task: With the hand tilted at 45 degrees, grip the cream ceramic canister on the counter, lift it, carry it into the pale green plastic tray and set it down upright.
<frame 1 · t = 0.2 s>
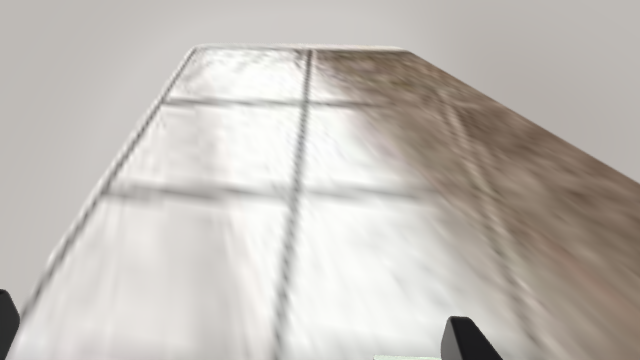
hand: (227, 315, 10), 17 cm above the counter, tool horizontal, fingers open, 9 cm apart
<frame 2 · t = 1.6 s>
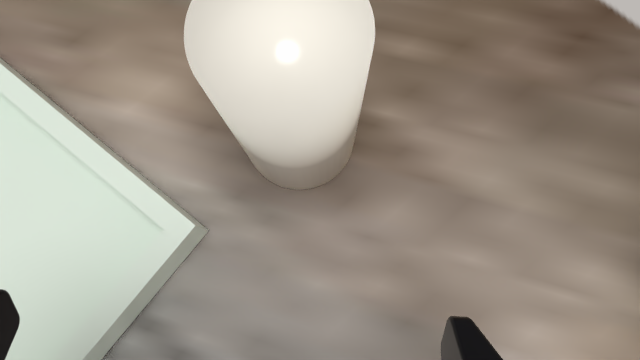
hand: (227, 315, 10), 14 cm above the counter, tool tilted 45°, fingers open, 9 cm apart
canister: (300, 136, 25), on the counter
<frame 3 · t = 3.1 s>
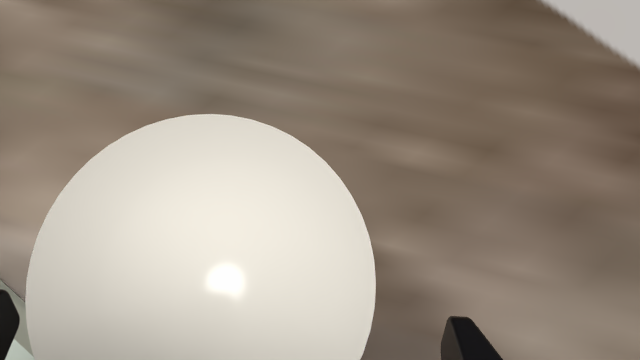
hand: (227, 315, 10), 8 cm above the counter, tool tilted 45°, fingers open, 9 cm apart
canister: (274, 278, 18), on the counter
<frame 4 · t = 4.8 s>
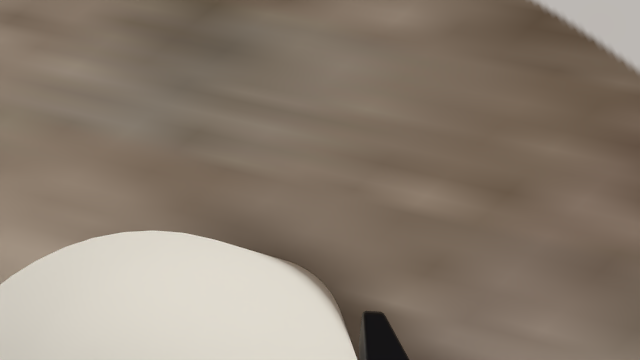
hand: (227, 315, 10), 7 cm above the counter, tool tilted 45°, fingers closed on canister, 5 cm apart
canister: (263, 341, 16), on the counter, touching gripper
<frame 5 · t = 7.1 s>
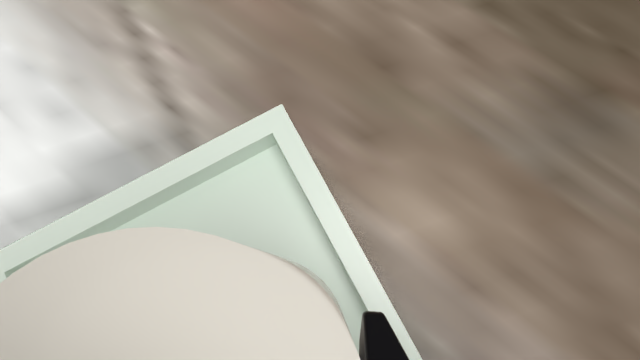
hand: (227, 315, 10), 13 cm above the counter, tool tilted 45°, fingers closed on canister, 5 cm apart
tray: (218, 329, 23), on the counter
canister: (264, 340, 16), point 7 cm above the counter, touching gripper
when the fingers open (8 cm above the counter, at t = 9.4 s): canister drops 1 cm, resting on tray.
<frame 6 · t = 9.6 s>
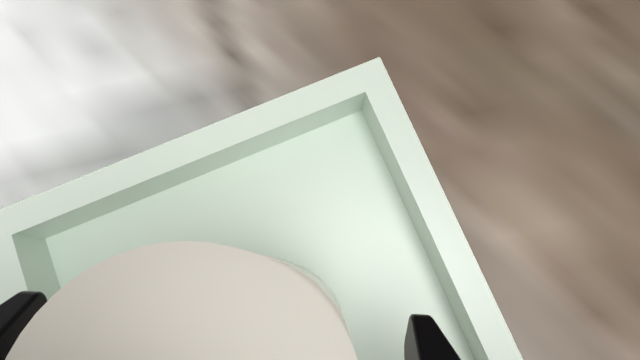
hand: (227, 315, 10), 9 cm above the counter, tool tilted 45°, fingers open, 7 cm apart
tray: (270, 333, 18), on the counter
canister: (270, 337, 18), point 1 cm above the counter, touching tray
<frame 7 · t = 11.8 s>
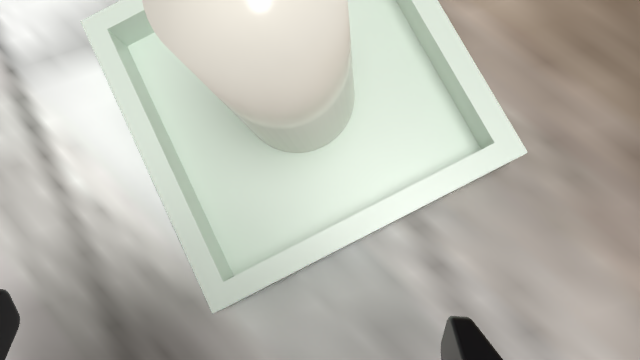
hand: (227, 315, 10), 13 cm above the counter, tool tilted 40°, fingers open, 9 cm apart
tray: (298, 99, 24), on the counter
canister: (298, 97, 24), point 1 cm above the counter, touching tray
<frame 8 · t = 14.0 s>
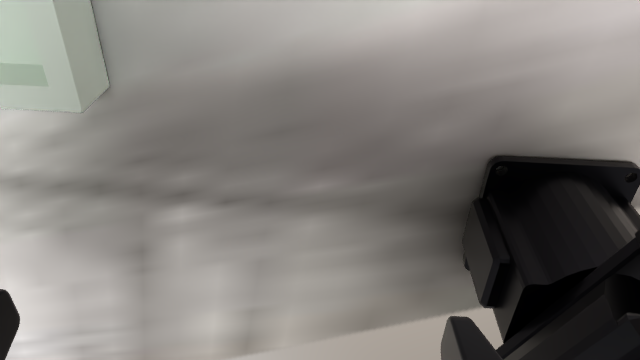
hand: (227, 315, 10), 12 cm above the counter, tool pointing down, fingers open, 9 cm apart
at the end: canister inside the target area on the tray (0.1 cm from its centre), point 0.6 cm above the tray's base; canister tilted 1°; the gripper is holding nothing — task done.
